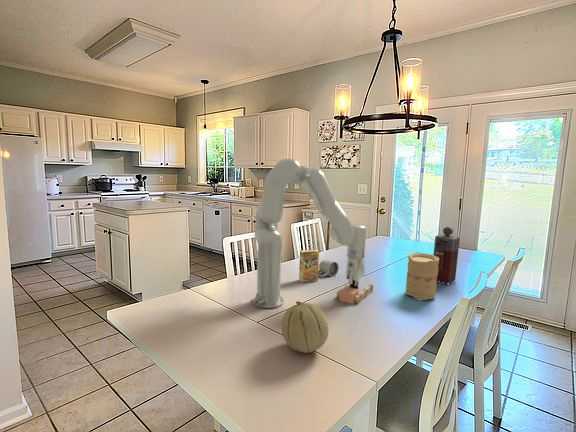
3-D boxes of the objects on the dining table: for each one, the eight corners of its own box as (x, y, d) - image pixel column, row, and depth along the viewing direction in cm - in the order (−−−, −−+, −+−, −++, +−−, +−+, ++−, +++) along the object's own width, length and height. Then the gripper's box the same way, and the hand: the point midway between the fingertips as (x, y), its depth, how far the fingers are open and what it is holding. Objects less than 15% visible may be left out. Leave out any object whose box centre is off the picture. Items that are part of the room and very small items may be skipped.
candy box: (301, 282, 160) (302, 252, 158) (298, 279, 164) (299, 250, 162) (318, 281, 163) (319, 251, 160) (315, 278, 167) (316, 249, 164)
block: (352, 304, 136) (353, 293, 136) (339, 300, 140) (339, 290, 139) (357, 299, 141) (358, 289, 141) (345, 296, 145) (345, 286, 144)
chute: (358, 304, 136) (358, 297, 136) (336, 298, 142) (336, 291, 141) (372, 291, 151) (373, 284, 151) (352, 286, 157) (353, 280, 156)
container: (428, 303, 139) (432, 262, 136) (400, 295, 147) (403, 256, 144) (439, 295, 148) (443, 257, 145) (412, 288, 156) (415, 251, 153)
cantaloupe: (323, 366, 93) (325, 317, 91) (274, 357, 97) (275, 310, 95) (331, 340, 108) (333, 297, 105) (288, 333, 111) (289, 291, 109)
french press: (429, 281, 166) (434, 227, 162) (437, 276, 174) (442, 224, 170) (447, 286, 160) (453, 229, 156) (455, 280, 168) (461, 227, 163)
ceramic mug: (327, 270, 179) (327, 257, 178) (338, 274, 173) (339, 260, 172) (313, 275, 172) (313, 261, 171) (325, 279, 166) (325, 264, 165)
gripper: (357, 258, 134) (355, 301, 136) (370, 251, 146) (367, 290, 149) (340, 255, 138) (338, 296, 141) (354, 248, 150) (352, 286, 153)
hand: (353, 293), depth 145 cm, fingers closed
